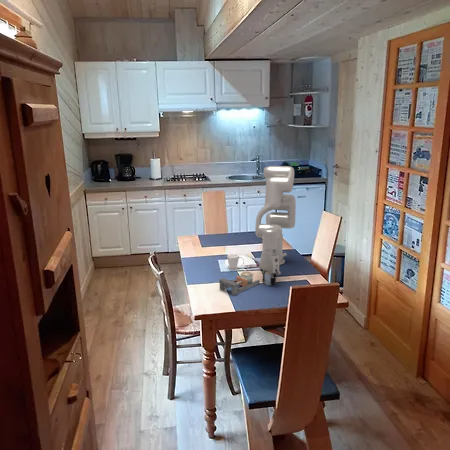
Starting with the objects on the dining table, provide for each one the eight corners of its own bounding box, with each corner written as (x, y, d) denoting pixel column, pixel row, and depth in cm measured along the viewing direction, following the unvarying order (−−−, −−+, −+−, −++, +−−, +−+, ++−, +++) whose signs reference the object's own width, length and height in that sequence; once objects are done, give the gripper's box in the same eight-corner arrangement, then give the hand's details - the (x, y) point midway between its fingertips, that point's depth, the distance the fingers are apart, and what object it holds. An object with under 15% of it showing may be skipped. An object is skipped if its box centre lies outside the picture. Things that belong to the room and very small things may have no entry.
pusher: (237, 283, 228) (237, 276, 227) (247, 287, 223) (247, 279, 222) (224, 288, 222) (224, 281, 221) (234, 292, 217) (234, 285, 216)
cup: (227, 266, 253) (226, 253, 251) (243, 265, 253) (243, 253, 251) (227, 270, 246) (227, 257, 244) (244, 270, 247) (244, 257, 244)
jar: (268, 280, 232) (268, 269, 230) (275, 283, 228) (275, 271, 226) (262, 283, 228) (262, 271, 226) (269, 286, 225) (269, 274, 223)
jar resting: (246, 280, 233) (246, 270, 231) (255, 283, 228) (255, 273, 226) (238, 283, 228) (238, 273, 227) (246, 287, 224) (246, 276, 222)
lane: (245, 278, 235) (245, 269, 233) (259, 283, 228) (259, 274, 226) (219, 289, 222) (219, 279, 220) (233, 295, 214) (233, 285, 213)
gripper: (286, 253, 219) (285, 285, 225) (262, 245, 231) (261, 276, 236) (277, 256, 214) (276, 289, 220) (252, 249, 226) (252, 280, 231)
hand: (269, 282), depth 228 cm, fingers closed on jar, 5 cm apart
